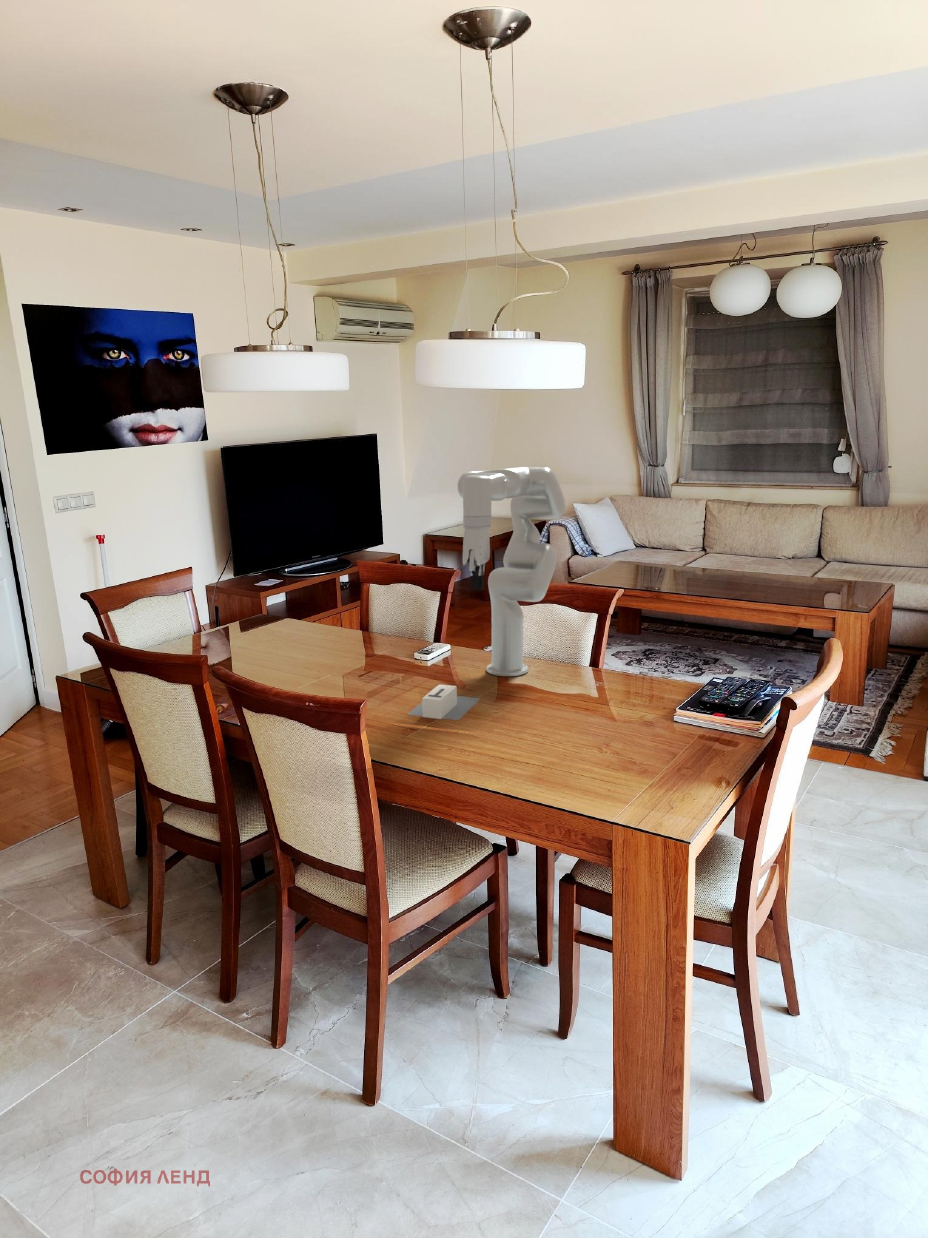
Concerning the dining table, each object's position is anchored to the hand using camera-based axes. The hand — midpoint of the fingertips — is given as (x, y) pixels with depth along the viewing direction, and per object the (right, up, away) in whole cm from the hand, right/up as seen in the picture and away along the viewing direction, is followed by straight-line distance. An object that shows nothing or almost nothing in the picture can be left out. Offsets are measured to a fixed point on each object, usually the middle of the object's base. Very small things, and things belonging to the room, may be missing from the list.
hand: (477, 589), depth 230 cm
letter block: (-8, -28, -5) cm, 30 cm away
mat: (-9, -32, -7) cm, 33 cm away
